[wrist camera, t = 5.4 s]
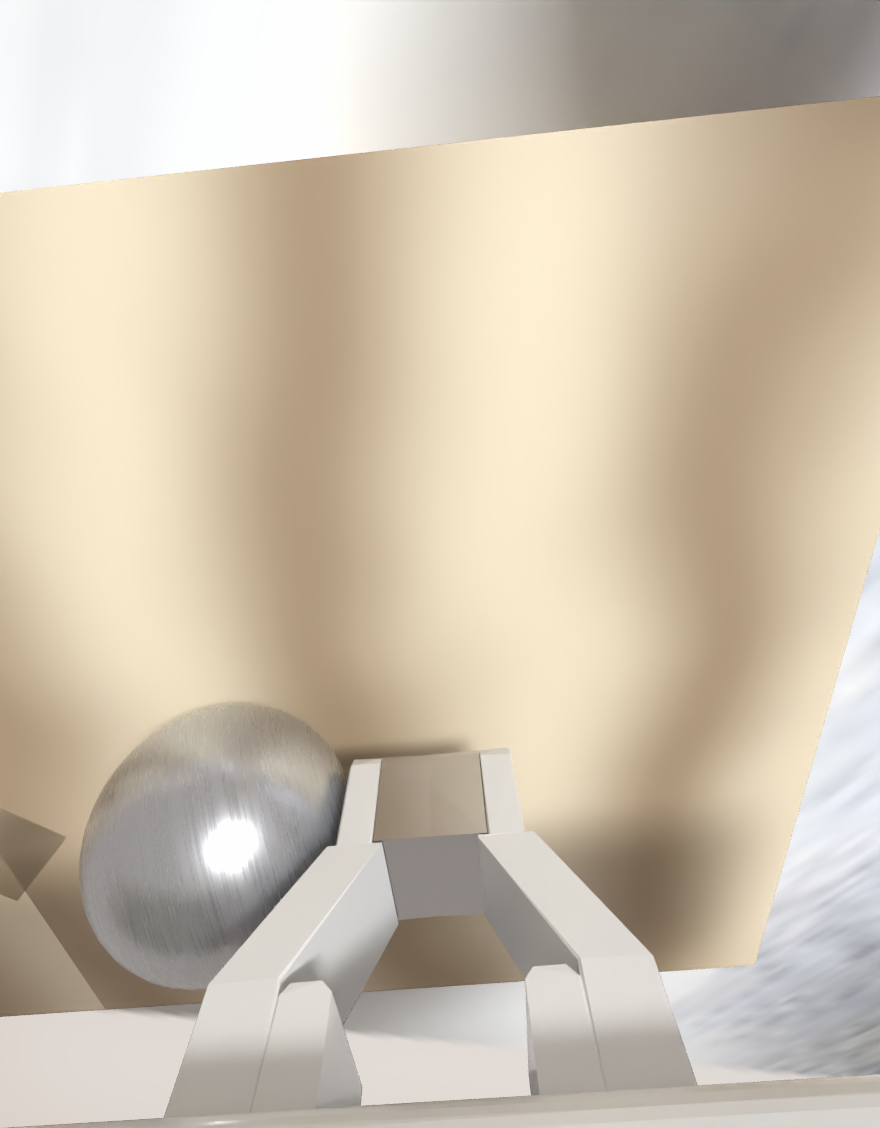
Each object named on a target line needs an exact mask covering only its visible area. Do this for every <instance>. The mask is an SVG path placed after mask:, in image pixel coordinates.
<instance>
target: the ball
mask: <svg viewBox="0 0 880 1128" xmlns="http://www.w3.org/2000/svg"><path fill="white" fill-rule="evenodd" d="M347 782H348V780H347V777H346V775H345V772H344V770H343V768H342V766H341V764H340V762H339V760H338V758H337V756H336V755H335V753H334V752H333V750H332V749H331V747H330V746H329V745H328V744H327V742H326V741H325V740H324V739H323V738H322V737H321V736H320V735H319V734H318V733H317V732H316V731H315V730H313V729H312V728H311V727H310V726H309V725H307V724H306V723H304V722H302V721H301V720H299V719H298V718H296V717H294V716H292V715H290V714H288V713H285V712H283V711H281V710H277V709H274V708H270V707H267V706H261V705H254V704H227V705H219V706H214V707H210V708H206V709H201V710H199V711H196V712H193V713H190V714H188V715H185V716H183V717H181V718H179V719H177V720H175V721H173V722H171V723H169V724H167V725H165V726H163V727H162V728H160V729H159V730H157V731H156V732H154V733H153V734H151V735H150V736H149V737H148V738H146V739H145V740H144V741H143V742H142V743H140V744H139V745H138V746H137V747H136V748H135V749H134V750H133V751H132V752H131V753H130V754H129V755H128V756H127V757H126V758H125V759H124V760H123V761H122V763H121V764H120V765H119V766H118V767H117V768H116V770H115V771H114V773H113V774H112V775H111V777H110V778H109V779H108V781H107V782H106V784H105V786H104V787H103V789H102V791H101V793H100V795H99V797H98V798H97V800H96V802H95V804H94V807H93V809H92V811H91V814H90V817H89V820H88V822H87V825H86V828H85V832H84V836H83V841H82V847H81V853H80V861H79V882H80V891H81V898H82V902H83V906H84V910H85V913H86V916H87V918H88V921H89V923H90V925H91V927H92V929H93V931H94V934H95V935H96V937H97V939H98V941H99V942H100V943H101V945H102V946H103V947H104V948H105V950H106V951H107V952H108V953H109V954H110V956H111V957H112V958H113V959H114V960H115V961H116V962H118V963H119V964H120V965H121V966H123V967H124V968H125V969H126V970H128V971H129V972H130V973H132V974H134V975H136V976H138V977H140V978H142V979H144V980H146V981H148V982H150V983H153V984H157V985H160V986H164V987H167V988H174V989H184V990H203V989H207V987H208V984H209V983H210V982H211V981H212V980H213V979H214V977H215V976H216V975H217V974H218V973H219V972H220V970H221V969H222V968H223V967H224V966H225V965H226V963H227V962H228V961H229V960H230V959H231V958H232V956H233V955H234V954H235V953H236V952H237V951H238V949H239V948H240V947H241V946H242V945H243V944H244V942H245V941H246V940H247V939H248V938H249V937H250V935H251V934H252V933H253V932H254V931H255V930H256V928H257V927H258V926H259V925H260V924H261V923H262V921H263V920H264V919H265V918H266V917H267V916H268V914H269V913H270V912H271V911H272V910H273V909H274V907H275V906H276V905H277V904H278V903H279V902H280V900H281V899H282V898H283V897H284V896H285V895H286V893H287V892H288V891H289V890H290V889H291V888H292V886H293V885H294V884H295V883H296V882H297V881H298V879H299V878H300V877H301V876H302V875H303V874H304V872H305V871H306V870H307V869H308V868H309V867H310V865H311V864H312V863H313V862H314V861H315V860H316V858H317V857H318V856H319V855H320V854H321V853H322V851H323V850H324V849H325V848H326V847H327V846H336V843H337V837H338V832H339V826H340V821H341V815H342V810H343V804H344V798H345V793H346V787H347Z"/></svg>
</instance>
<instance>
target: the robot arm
mask: <svg viewBox="0 0 880 1128" xmlns="http://www.w3.org/2000/svg"><path fill="white" fill-rule="evenodd" d="M474 914H485V917H486V919H487V920H488V922H489V924H490V925H491V927H492V928H493V930H494V931H495V933H496V934H497V936H498V938H499V939H500V941H501V942H502V944H503V945H504V947H505V949H506V950H507V952H508V953H509V955H510V956H511V958H512V959H513V961H514V963H515V964H516V966H517V967H518V969H519V970H520V972H521V974H522V975H523V977H524V978H525V988H526V1014H527V1041H528V1067H529V1081H530V1090H531V1096H516V1097H499V1098H484V1099H467V1100H450V1101H434V1102H417V1103H402V1104H386V1105H368V1106H361V1095H362V1085H361V1082H360V1078H359V1075H358V1072H357V1069H356V1066H355V1063H354V1060H353V1056H352V1053H351V1050H350V1047H349V1044H348V1041H347V1038H346V1034H345V1031H344V1028H343V1024H344V1023H345V1021H346V1019H347V1017H348V1015H349V1013H350V1012H351V1010H352V1008H353V1006H354V1004H355V1003H356V1001H357V999H358V997H359V995H360V993H361V992H362V990H363V988H364V986H365V984H366V982H367V981H368V979H369V977H370V975H371V973H372V972H373V970H374V968H375V966H376V964H377V962H378V961H379V959H380V957H381V955H382V953H383V951H384V950H385V948H386V946H387V944H388V942H389V941H390V939H391V937H392V935H393V933H394V931H395V930H396V928H397V926H398V920H405V919H415V918H425V917H435V916H449V915H474ZM11 1128H880V1074H877V1075H860V1076H844V1077H827V1078H811V1079H795V1080H778V1081H762V1082H745V1083H729V1084H714V1085H697V1082H696V1079H695V1076H694V1073H693V1071H692V1067H691V1064H690V1061H689V1059H688V1056H687V1053H686V1050H685V1047H684V1044H683V1041H682V1038H681V1035H680V1032H679V1029H678V1026H677V1024H676V1021H675V1018H674V1015H673V1012H672V1009H671V1006H670V1003H669V1000H668V997H667V994H666V991H665V988H664V986H663V983H662V980H661V977H660V974H659V971H658V968H657V965H656V962H655V959H654V956H653V955H652V954H651V953H650V952H649V951H648V950H647V949H646V948H645V947H644V945H643V944H642V943H641V942H640V941H639V940H638V939H637V938H636V937H635V936H634V935H633V934H632V933H631V932H630V931H629V930H628V929H627V928H626V927H625V926H624V925H623V923H622V922H621V921H620V920H619V919H618V918H617V917H616V916H615V915H614V914H613V913H612V912H611V911H610V910H609V909H608V908H607V907H606V906H605V905H604V904H603V903H602V901H601V900H600V899H599V898H598V897H597V896H596V895H595V894H594V893H593V892H592V891H591V890H590V889H589V888H588V887H587V886H586V885H585V884H584V883H583V882H582V880H581V879H580V878H579V877H578V876H577V875H576V874H575V873H574V872H573V871H572V870H571V869H570V868H569V867H568V866H567V865H566V864H565V863H564V862H563V861H562V860H561V858H560V857H559V856H558V855H557V854H556V853H555V852H554V851H553V850H552V849H551V848H550V847H549V846H548V845H547V844H546V843H545V842H544V841H543V840H542V839H541V838H540V836H539V835H538V834H537V833H536V832H535V831H525V830H524V824H523V818H522V813H521V807H520V802H519V796H518V790H517V785H516V779H515V774H514V768H513V763H512V757H511V752H510V750H509V749H508V748H499V749H488V750H480V751H478V750H477V751H466V752H455V753H444V754H432V755H422V756H403V757H385V758H378V759H358V760H354V761H353V763H352V765H351V767H350V771H349V776H348V782H347V787H346V793H345V798H344V804H343V810H342V815H341V821H340V826H339V832H338V837H337V843H336V846H327V847H326V848H325V849H324V850H323V851H322V853H321V854H320V855H319V856H318V857H317V858H316V860H315V861H314V862H313V863H312V864H311V865H310V867H309V868H308V869H307V870H306V871H305V872H304V874H303V875H302V876H301V877H300V878H299V879H298V881H297V882H296V883H295V884H294V885H293V886H292V888H291V889H290V890H289V891H288V892H287V893H286V895H285V896H284V897H283V898H282V899H281V900H280V902H279V903H278V904H277V905H276V906H275V907H274V909H273V910H272V911H271V912H270V913H269V914H268V916H267V917H266V918H265V919H264V920H263V921H262V923H261V924H260V925H259V926H258V927H257V928H256V930H255V931H254V932H253V933H252V934H251V935H250V937H249V938H248V939H247V940H246V941H245V942H244V944H243V945H242V946H241V947H240V948H239V949H238V951H237V952H236V953H235V954H234V955H233V956H232V958H231V959H230V960H229V961H228V962H227V963H226V965H225V966H224V967H223V968H222V969H221V970H220V972H219V973H218V974H217V975H216V976H215V977H214V979H213V980H212V981H211V982H210V983H209V984H208V987H207V990H206V993H205V996H204V999H203V1002H202V1005H201V1008H200V1011H199V1014H198V1017H197V1020H196V1023H195V1026H194V1029H193V1032H192V1035H191V1038H190V1041H189V1044H188V1047H187V1050H186V1053H185V1056H184V1059H183V1062H182V1065H181V1068H180V1071H179V1074H178V1077H177V1080H176V1083H175V1086H174V1089H173V1092H172V1095H171V1098H170V1101H169V1104H168V1107H167V1109H166V1112H165V1115H164V1118H157V1119H140V1120H124V1121H108V1122H91V1123H76V1124H59V1125H45V1126H28V1127H11Z"/></svg>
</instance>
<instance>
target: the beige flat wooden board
mask: <svg viewBox="0 0 880 1128" xmlns="http://www.w3.org/2000/svg"><path fill="white" fill-rule="evenodd" d="M879 530H880V96H876V97H867V98H858V99H849V100H840V101H831V102H822V103H812V104H803V105H794V106H785V107H776V108H767V109H758V110H749V111H740V112H731V113H721V114H712V115H703V116H694V117H685V118H676V119H667V120H658V121H649V122H639V123H630V124H621V125H612V126H603V127H594V128H585V129H576V130H567V131H558V132H548V133H539V134H530V135H521V136H512V137H503V138H494V139H485V140H476V141H467V142H457V143H448V144H439V145H430V146H421V147H412V148H403V149H394V150H385V151H376V152H366V153H357V154H348V155H339V156H330V157H321V158H312V159H303V160H294V161H285V162H275V163H266V164H257V165H248V166H239V167H230V168H221V169H212V170H203V171H193V172H184V173H175V174H166V175H157V176H148V177H139V178H130V179H121V180H112V181H102V182H93V183H84V184H75V185H66V186H57V187H48V188H39V189H30V190H21V191H11V192H2V193H0V1017H2V1016H18V1015H33V1014H46V1013H61V1012H77V1011H91V1010H106V1009H121V1008H135V1007H150V1006H165V1005H179V1004H194V1003H202V1002H203V999H204V996H205V993H206V990H207V989H203V990H184V989H174V988H167V987H164V986H160V985H157V984H153V983H150V982H148V981H146V980H144V979H142V978H140V977H138V976H136V975H134V974H132V973H130V972H129V971H128V970H126V969H125V968H124V967H123V966H121V965H120V964H119V963H118V962H116V961H115V960H114V959H113V958H112V957H111V956H110V954H109V953H108V952H107V951H106V950H105V948H104V947H103V946H102V945H101V943H100V942H99V941H98V939H97V937H96V935H95V934H94V931H93V929H92V927H91V925H90V923H89V921H88V918H87V916H86V913H85V910H84V906H83V902H82V898H81V891H80V882H79V861H80V853H81V847H82V841H83V836H84V832H85V828H86V825H87V822H88V820H89V817H90V814H91V811H92V809H93V807H94V804H95V802H96V800H97V798H98V797H99V795H100V793H101V791H102V789H103V787H104V786H105V784H106V782H107V781H108V779H109V778H110V777H111V775H112V774H113V773H114V771H115V770H116V768H117V767H118V766H119V765H120V764H121V763H122V761H123V760H124V759H125V758H126V757H127V756H128V755H129V754H130V753H131V752H132V751H133V750H134V749H135V748H136V747H137V746H138V745H139V744H140V743H142V742H143V741H144V740H145V739H146V738H148V737H149V736H150V735H151V734H153V733H154V732H156V731H157V730H159V729H160V728H162V727H163V726H165V725H167V724H169V723H171V722H173V721H175V720H177V719H179V718H181V717H183V716H185V715H188V714H190V713H193V712H196V711H199V710H201V709H206V708H210V707H214V706H219V705H227V704H254V705H261V706H267V707H270V708H274V709H277V710H281V711H283V712H285V713H288V714H290V715H292V716H294V717H296V718H298V719H299V720H301V721H302V722H304V723H306V724H307V725H309V726H310V727H311V728H312V729H313V730H315V731H316V732H317V733H318V734H319V735H320V736H321V737H322V738H323V739H324V740H325V741H326V742H327V744H328V745H329V746H330V747H331V749H332V750H333V752H334V753H335V755H336V756H337V758H338V760H339V762H340V764H341V766H342V768H343V770H344V772H345V775H346V777H347V780H348V776H349V771H350V767H351V765H352V763H353V761H354V760H358V759H378V758H385V757H403V756H422V755H432V754H444V753H455V752H466V751H477V750H478V751H480V750H488V749H499V748H508V749H509V750H510V752H511V757H512V763H513V768H514V774H515V779H516V785H517V790H518V796H519V802H520V807H521V813H522V818H523V824H524V830H525V831H535V832H536V833H537V834H538V835H539V836H540V838H541V839H542V840H543V841H544V842H545V843H546V844H547V845H548V846H549V847H550V848H551V849H552V850H553V851H554V852H555V853H556V854H557V855H558V856H559V857H560V858H561V860H562V861H563V862H564V863H565V864H566V865H567V866H568V867H569V868H570V869H571V870H572V871H573V872H574V873H575V874H576V875H577V876H578V877H579V878H580V879H581V880H582V882H583V883H584V884H585V885H586V886H587V887H588V888H589V889H590V890H591V891H592V892H593V893H594V894H595V895H596V896H597V897H598V898H599V899H600V900H601V901H602V903H603V904H604V905H605V906H606V907H607V908H608V909H609V910H610V911H611V912H612V913H613V914H614V915H615V916H616V917H617V918H618V919H619V920H620V921H621V922H622V923H623V925H624V926H625V927H626V928H627V929H628V930H629V931H630V932H631V933H632V934H633V935H634V936H635V937H636V938H637V939H638V940H639V941H640V942H641V943H642V944H643V945H644V947H645V948H646V949H647V950H648V951H649V952H650V953H651V954H652V955H653V956H654V959H655V962H656V965H657V968H658V971H659V972H663V971H678V970H693V969H707V968H722V967H737V966H751V965H755V962H756V959H757V955H758V952H759V948H760V945H761V941H762V938H763V934H764V931H765V927H766V924H767V920H768V917H769V913H770V910H771V906H772V903H773V899H774V896H775V892H776V889H777V885H778V882H779V879H780V875H781V872H782V868H783V865H784V861H785V858H786V854H787V851H788V847H789V844H790V840H791V837H792V833H793V830H794V826H795V823H796V819H797V816H798V812H799V809H800V805H801V802H802V798H803V795H804V791H805V788H806V784H807V781H808V778H809V774H810V771H811V767H812V764H813V760H814V757H815V753H816V750H817V746H818V743H819V739H820V736H821V732H822V729H823V725H824V722H825V718H826V715H827V711H828V708H829V704H830V701H831V697H832V694H833V690H834V687H835V683H836V680H837V676H838V673H839V670H840V666H841V663H842V659H843V656H844V652H845V649H846V645H847V642H848V638H849V635H850V631H851V628H852V624H853V621H854V617H855V614H856V610H857V607H858V603H859V600H860V596H861V593H862V589H863V586H864V582H865V579H866V575H867V572H868V569H869V565H870V562H871V558H872V555H873V551H874V548H875V544H876V541H877V537H878V534H879ZM517 981H525V978H524V977H523V975H522V974H521V972H520V970H519V969H518V967H517V966H516V964H515V963H514V961H513V959H512V958H511V956H510V955H509V953H508V952H507V950H506V949H505V947H504V945H503V944H502V942H501V941H500V939H499V938H498V936H497V934H496V933H495V931H494V930H493V928H492V927H491V925H490V924H489V922H488V920H487V919H486V917H485V914H474V915H449V916H435V917H425V918H415V919H405V920H398V926H397V928H396V930H395V931H394V933H393V935H392V937H391V939H390V941H389V942H388V944H387V946H386V948H385V950H384V951H383V953H382V955H381V957H380V959H379V961H378V962H377V964H376V966H375V968H374V970H373V972H372V973H371V975H370V977H369V979H368V981H367V982H366V984H365V986H364V988H363V990H362V992H370V991H385V990H399V989H414V988H429V987H443V986H458V985H473V984H487V983H502V982H517Z"/></svg>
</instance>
